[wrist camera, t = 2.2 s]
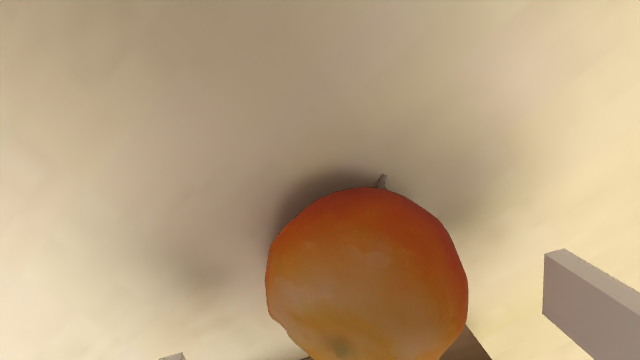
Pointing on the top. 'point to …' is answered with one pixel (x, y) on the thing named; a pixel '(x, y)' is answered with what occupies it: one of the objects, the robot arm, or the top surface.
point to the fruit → (367, 279)
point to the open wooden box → (462, 348)
